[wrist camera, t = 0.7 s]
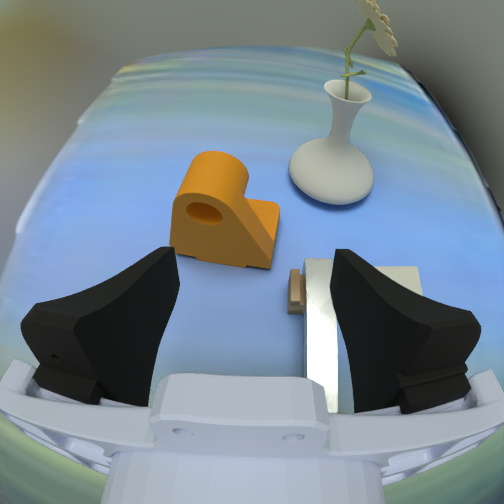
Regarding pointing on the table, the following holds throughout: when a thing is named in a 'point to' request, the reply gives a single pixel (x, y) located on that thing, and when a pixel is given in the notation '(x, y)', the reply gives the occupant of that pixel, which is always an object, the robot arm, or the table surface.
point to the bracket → (222, 215)
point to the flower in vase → (342, 130)
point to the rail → (320, 329)
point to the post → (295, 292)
